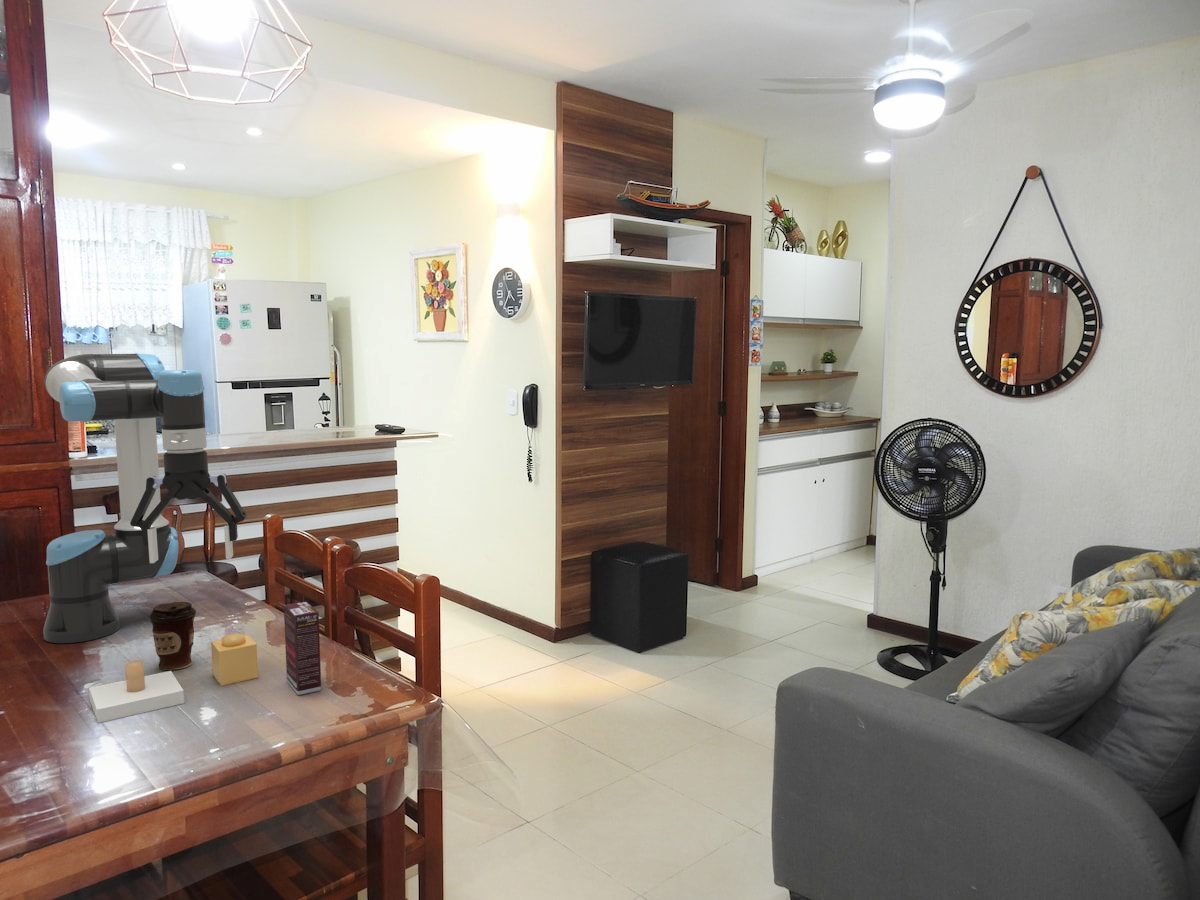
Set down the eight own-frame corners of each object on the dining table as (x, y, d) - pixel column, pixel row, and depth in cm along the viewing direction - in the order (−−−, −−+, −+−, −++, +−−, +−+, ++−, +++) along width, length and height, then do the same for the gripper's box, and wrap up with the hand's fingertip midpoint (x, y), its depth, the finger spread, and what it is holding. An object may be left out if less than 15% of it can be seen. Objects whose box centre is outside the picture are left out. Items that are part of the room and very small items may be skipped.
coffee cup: (178, 675, 171) (174, 613, 169) (143, 672, 172) (138, 610, 171) (206, 659, 179) (203, 600, 177) (172, 656, 181) (168, 598, 179)
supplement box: (322, 690, 163) (319, 611, 161) (297, 696, 160) (293, 616, 158) (310, 676, 170) (307, 600, 168) (285, 681, 167) (282, 604, 165)
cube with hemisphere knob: (212, 674, 171) (210, 636, 170) (249, 667, 175) (247, 629, 174) (221, 685, 165) (218, 645, 164) (258, 677, 169) (256, 638, 168)
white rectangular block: (90, 700, 158) (87, 662, 157) (171, 682, 167) (169, 646, 166) (97, 723, 149) (94, 682, 148) (184, 703, 157) (181, 664, 156)
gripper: (106, 454, 154) (114, 568, 156) (250, 450, 159) (256, 560, 161) (120, 450, 161) (128, 558, 164) (258, 446, 166) (264, 551, 169)
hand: (192, 559), depth 162 cm, fingers open, 13 cm apart
